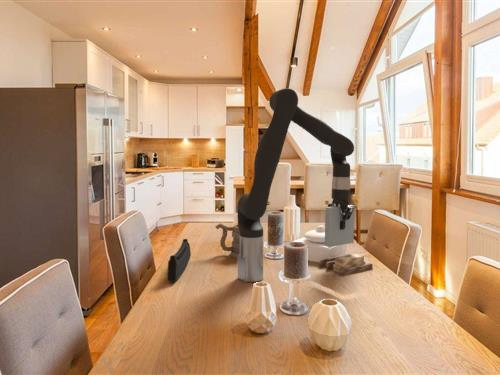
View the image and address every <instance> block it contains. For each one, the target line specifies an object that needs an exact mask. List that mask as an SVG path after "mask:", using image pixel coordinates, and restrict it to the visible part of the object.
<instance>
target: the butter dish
mask: <svg viewBox="0 0 500 375" xmlns="http://www.w3.org/2000/svg"><path fill="white" fill-rule="evenodd" d="M293 242H303V243H305V244H306V245H307V248H308V260H307V261H311V262H316V263H319V264H320V260H321V259H326V258H332V257H337V256H342V255H347V244H344V245H337V246H331V247H327V246H325V225H321V224H320V225H318V226H317V227H315V229H312V230H309V231H306V232H305V233H304V235H303V237H301V238H299V239H295V240H293V241H292V243H293Z"/></svg>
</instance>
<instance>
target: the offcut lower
mask: <svg viewBox="0 0 500 375" xmlns="http://www.w3.org/2000/svg"><path fill="white" fill-rule="evenodd" d="M365 264H366V261H365V260H364V262H361V263H357V264H352V265H347V266H339V265H336V264H333V271H336V272H338V273H340V270H341V269H346V268H351V267H355V266H360V265H365Z"/></svg>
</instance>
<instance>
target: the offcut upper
mask: <svg viewBox="0 0 500 375" xmlns="http://www.w3.org/2000/svg"><path fill="white" fill-rule="evenodd" d="M364 261H365V257H364V255H362V254H359V253H354V254H351V255H348V256H343V257H338V258H335V264H336V265H339V266H347V265H352V264H357V263H361V262H364Z"/></svg>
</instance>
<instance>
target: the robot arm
mask: <svg viewBox="0 0 500 375" xmlns="http://www.w3.org/2000/svg"><path fill="white" fill-rule="evenodd" d="M268 103H269V106H270V108H271V110H272V111H273V114H272V118H271V121H270V123H269V125H268V127H267V128H266V130H265V132H264V133H263V135H262V137H261V139H260V141H259V144H258V146H257V149H256V153H255V156H254V160H253V162H254V163H253V182H252V185H251V188H250V191H249V193H245V194H243V195H240V198H239V199H238V201H237V206H236V207H237V209H236V210H237V211H236V212H237V213H236V215H237V224H238V228H239V232H240V254H238V258H237V278H238V279H239V280H240V281H242V282H244V283H255V282H260V281H262V280H264V228H263V226H262V224H261V219H262V217H263V216H264V214H265V213H266V211H267V208H268V207H267V206H268V203H269V197H270V192H271V187H272V184H273V181H274V179H275V174H276V171H277V169H278V165H279V162H280V159H281V155H282V153H283V148H284V144H285V141H286V138H287V133H288V131H289V127H290V125H291V122H293V123H294V124H296V125H297V126H299V127H301V128H302V129H303V130H305V131H306V132H307V133H308V134H310V135H311V136H313V137H314V138H315V139H316V140H317V141H319V142H320V143H321V144H323V145H326V146H328V147H330V148H329V149H330V152H329V153H330V157H331V164H332V179H331V195H330V196H331V199H332V201H331V203H327V207H334V206H335V207H336V206H338V207H339V215H340V220H341V221H340V230H344V229H345V222H346V220H349V219H350V217H351V215H352V212H353V210H354V208H353V207H350V206H349V205H350V202H349V200H350V199H351V165H350V163H349V162H348V160H347V157H349V156H351V155H352V154H353V153H354V151H355V144H354V142H353V141H352V140H351V139H350V138H348V137H347V136H345V135H343V134H342V133H341V132H338V131H336V130H335V129H334V128H332V127H331V126H330V125H329V124H327V123H326V122H325V121H323V120H322V119H320V118H318V116H317V117H316V116H315V115H313V114H311V113H309V112H307V111H305V110H303V109H302V108H301V107H299V106H298V104H299V97H298V93H297V92H296V91H295V89H293V88H290V87H287V88H286V87H285V88H281V89H278V90H277V91H274V92H273V93H272V94H270V97H269V102H268ZM342 212H344V213H342ZM343 215H344V217H343Z"/></svg>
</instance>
